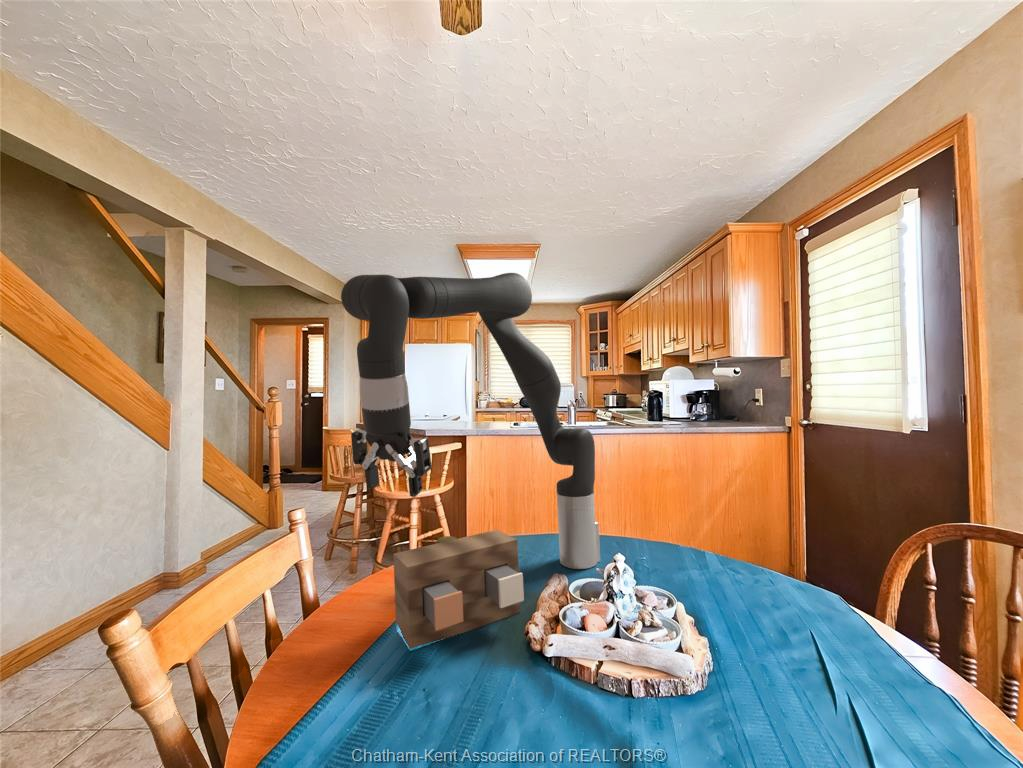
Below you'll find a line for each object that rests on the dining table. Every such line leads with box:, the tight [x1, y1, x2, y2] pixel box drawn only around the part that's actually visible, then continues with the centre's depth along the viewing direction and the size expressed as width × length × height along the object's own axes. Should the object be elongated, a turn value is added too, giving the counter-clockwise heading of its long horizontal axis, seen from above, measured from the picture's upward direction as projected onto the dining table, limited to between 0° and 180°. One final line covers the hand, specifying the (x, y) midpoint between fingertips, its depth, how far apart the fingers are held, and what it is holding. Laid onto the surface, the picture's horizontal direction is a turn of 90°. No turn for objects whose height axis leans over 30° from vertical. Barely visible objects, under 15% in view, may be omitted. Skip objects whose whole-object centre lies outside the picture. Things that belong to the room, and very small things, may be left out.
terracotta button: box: [422, 581, 463, 631], centre depth 73 cm, size 5×9×5 cm, turn 32°
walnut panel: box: [393, 529, 521, 649], centre depth 80 cm, size 22×8×14 cm, turn 122°
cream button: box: [484, 564, 525, 608], centre depth 79 cm, size 5×9×5 cm, turn 32°
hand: (394, 490), depth 73 cm, fingers open, 8 cm apart
